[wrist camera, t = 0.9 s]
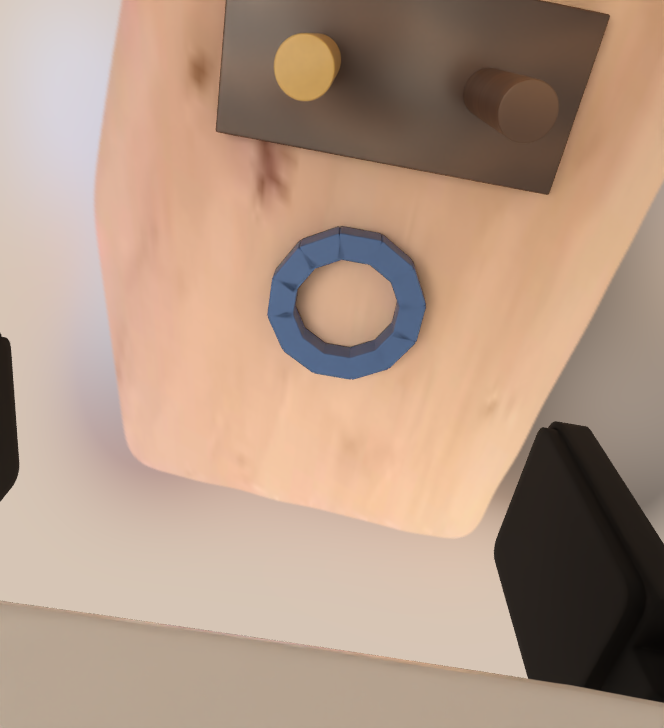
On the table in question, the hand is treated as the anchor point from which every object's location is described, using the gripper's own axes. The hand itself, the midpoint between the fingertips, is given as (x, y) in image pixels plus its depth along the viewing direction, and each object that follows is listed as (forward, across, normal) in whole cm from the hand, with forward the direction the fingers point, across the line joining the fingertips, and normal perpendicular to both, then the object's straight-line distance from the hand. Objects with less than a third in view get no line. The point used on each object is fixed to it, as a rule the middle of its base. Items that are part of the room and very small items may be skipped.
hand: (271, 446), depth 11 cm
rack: (+28, -3, -6) cm, 28 cm away
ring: (+28, -2, +8) cm, 29 cm away
